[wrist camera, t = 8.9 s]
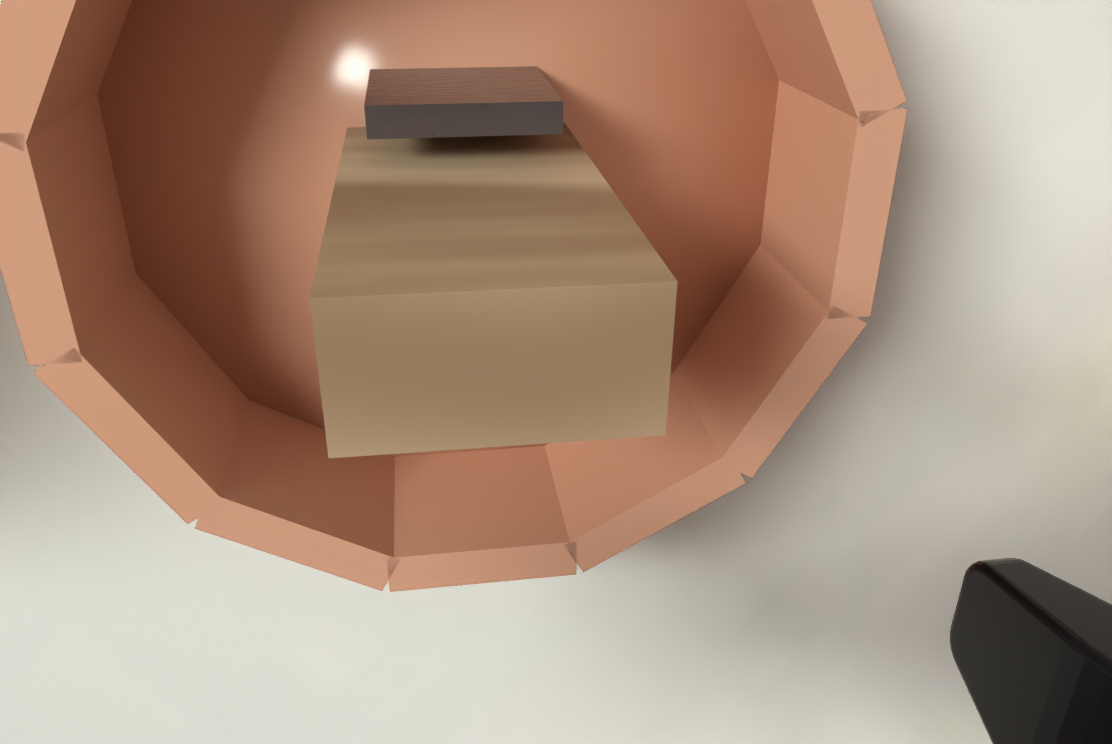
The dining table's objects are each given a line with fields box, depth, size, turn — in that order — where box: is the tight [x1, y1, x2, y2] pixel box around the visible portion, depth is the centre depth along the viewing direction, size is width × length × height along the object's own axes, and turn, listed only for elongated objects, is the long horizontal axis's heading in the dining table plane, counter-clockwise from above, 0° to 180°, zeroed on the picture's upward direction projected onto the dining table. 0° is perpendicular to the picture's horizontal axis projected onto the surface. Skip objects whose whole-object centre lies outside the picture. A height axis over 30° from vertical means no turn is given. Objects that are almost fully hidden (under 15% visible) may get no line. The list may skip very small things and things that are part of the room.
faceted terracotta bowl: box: [0, 0, 907, 592], centre depth 16 cm, size 14×14×4 cm
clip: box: [364, 66, 563, 140], centre depth 16 cm, size 4×3×3 cm
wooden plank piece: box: [309, 123, 678, 458], centre depth 14 cm, size 2×4×8 cm, turn 89°
